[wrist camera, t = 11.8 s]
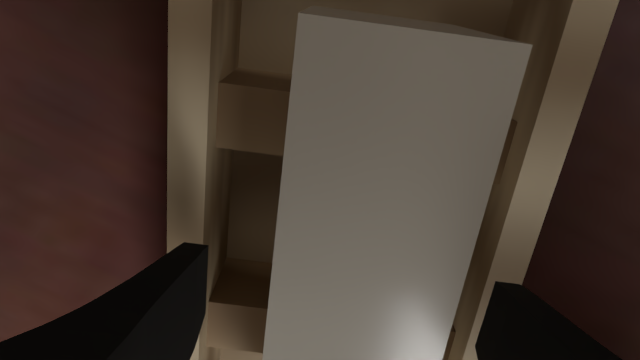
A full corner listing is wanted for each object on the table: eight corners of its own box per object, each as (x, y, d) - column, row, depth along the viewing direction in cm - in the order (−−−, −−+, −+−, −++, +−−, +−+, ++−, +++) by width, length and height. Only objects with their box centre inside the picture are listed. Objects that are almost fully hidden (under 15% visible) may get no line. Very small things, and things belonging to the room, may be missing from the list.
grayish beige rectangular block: (366, 410, 16) (380, 575, 12) (267, 399, 16) (241, 560, 12) (453, 24, 12) (532, 45, 7) (312, 5, 11) (298, 12, 7)
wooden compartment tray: (429, 380, 20) (455, 480, 16) (200, 352, 20) (165, 446, 16) (540, -16, 14) (625, -20, 10) (217, -61, 14) (168, -84, 10)
